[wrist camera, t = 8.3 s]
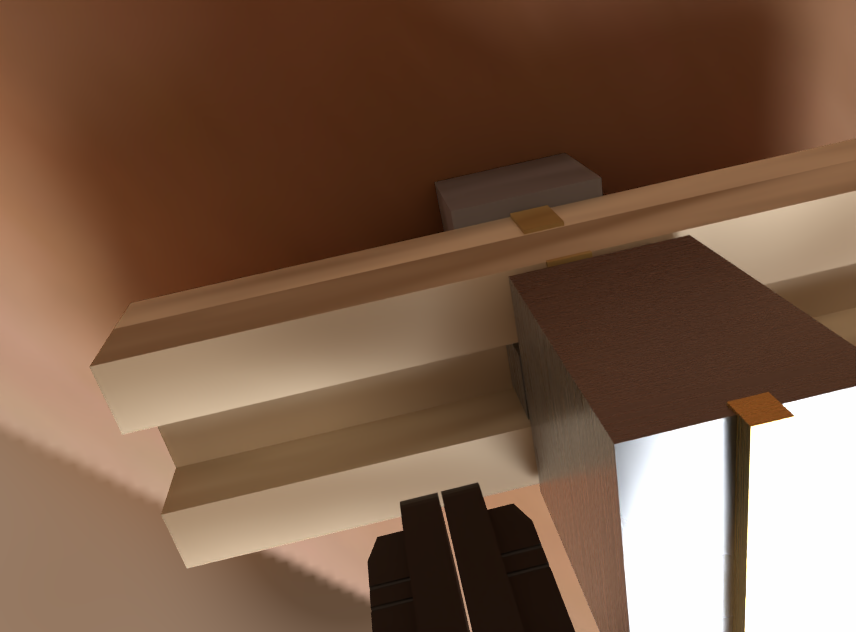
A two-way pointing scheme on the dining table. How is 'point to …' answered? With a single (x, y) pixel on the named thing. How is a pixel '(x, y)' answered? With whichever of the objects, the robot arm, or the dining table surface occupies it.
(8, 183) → the dining table surface
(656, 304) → the block
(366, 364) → the beam
